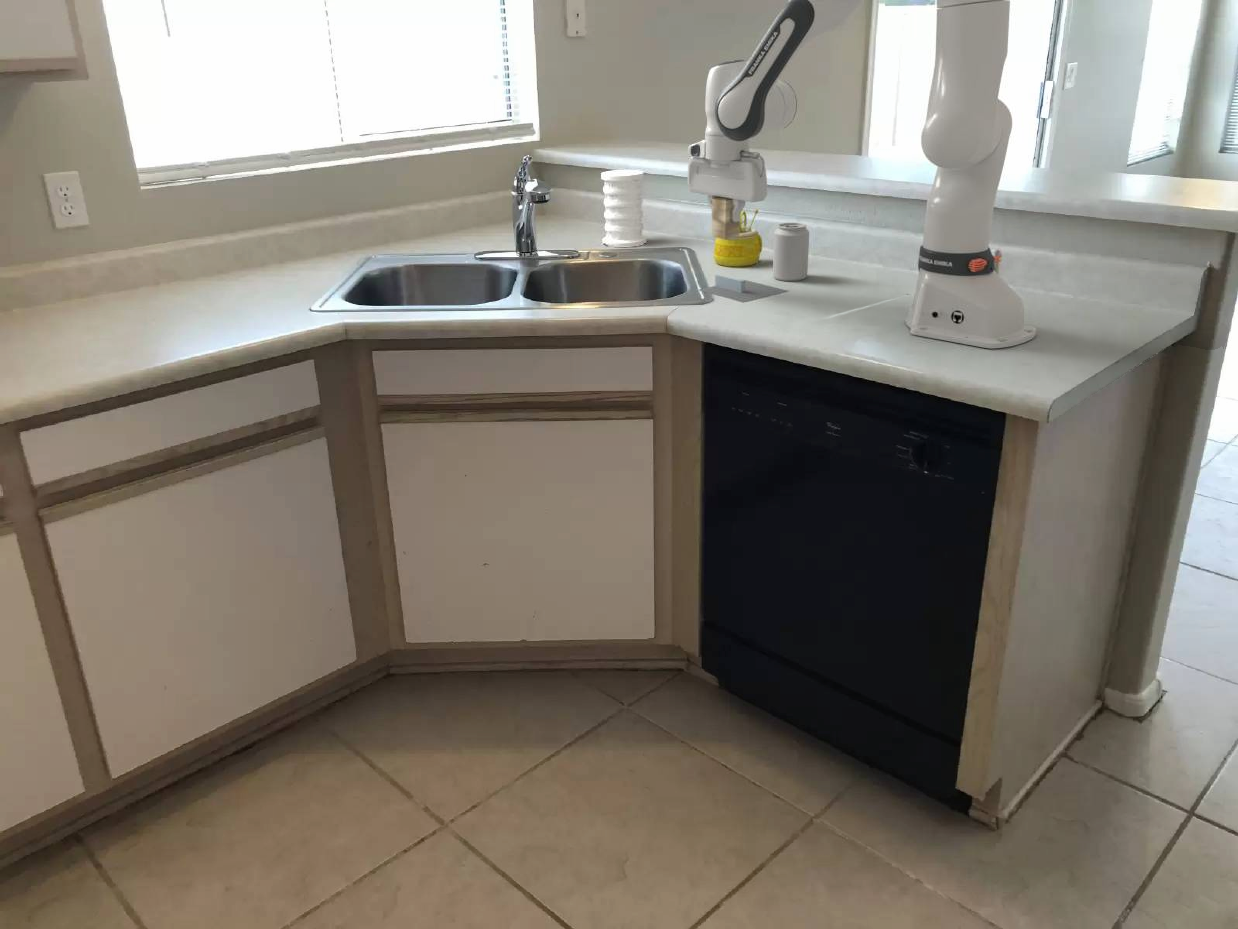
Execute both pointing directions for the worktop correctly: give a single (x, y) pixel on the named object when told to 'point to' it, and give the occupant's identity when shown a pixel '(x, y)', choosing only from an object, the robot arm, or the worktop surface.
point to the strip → (730, 283)
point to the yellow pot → (739, 247)
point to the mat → (751, 292)
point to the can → (791, 252)
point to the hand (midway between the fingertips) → (725, 219)
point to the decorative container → (623, 207)
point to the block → (723, 219)
